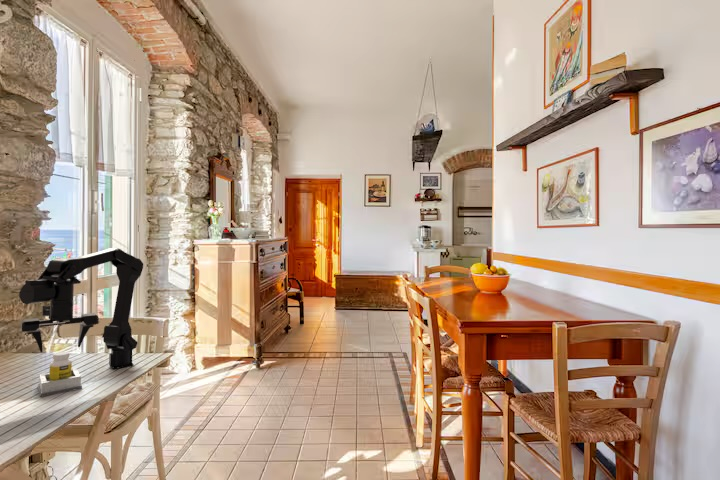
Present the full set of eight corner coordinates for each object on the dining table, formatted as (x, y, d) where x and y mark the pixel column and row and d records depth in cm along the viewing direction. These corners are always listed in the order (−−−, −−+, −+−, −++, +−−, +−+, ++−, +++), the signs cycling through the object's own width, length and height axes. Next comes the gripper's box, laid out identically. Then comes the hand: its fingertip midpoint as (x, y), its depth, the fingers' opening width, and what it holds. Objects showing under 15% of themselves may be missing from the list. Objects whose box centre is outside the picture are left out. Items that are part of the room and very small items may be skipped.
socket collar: (77, 379, 127) (77, 367, 127) (81, 388, 120) (82, 376, 120) (37, 386, 121) (38, 374, 121) (40, 396, 113) (40, 383, 113)
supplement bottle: (58, 389, 117) (59, 356, 117) (44, 387, 118) (45, 355, 118) (75, 382, 123) (76, 351, 123) (61, 380, 124) (62, 350, 124)
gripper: (93, 294, 133) (92, 339, 133) (21, 298, 120) (19, 348, 120) (99, 298, 124) (98, 346, 124) (22, 303, 112) (21, 357, 112)
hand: (60, 349), depth 120 cm, fingers open, 9 cm apart
